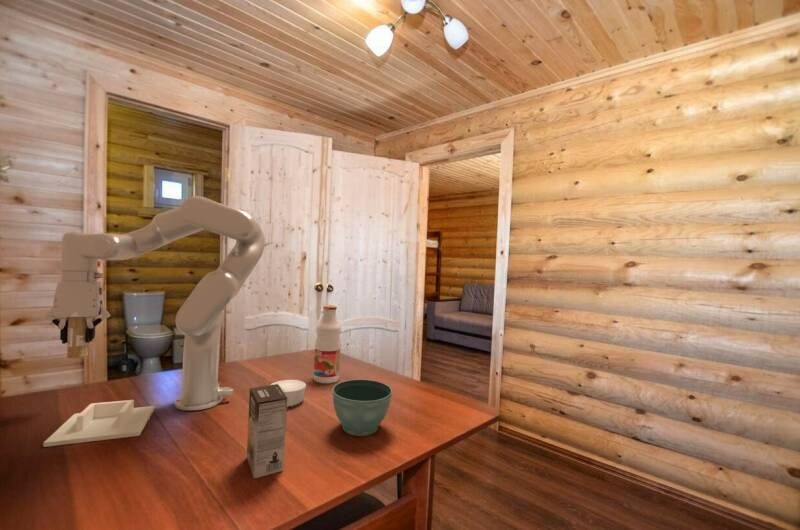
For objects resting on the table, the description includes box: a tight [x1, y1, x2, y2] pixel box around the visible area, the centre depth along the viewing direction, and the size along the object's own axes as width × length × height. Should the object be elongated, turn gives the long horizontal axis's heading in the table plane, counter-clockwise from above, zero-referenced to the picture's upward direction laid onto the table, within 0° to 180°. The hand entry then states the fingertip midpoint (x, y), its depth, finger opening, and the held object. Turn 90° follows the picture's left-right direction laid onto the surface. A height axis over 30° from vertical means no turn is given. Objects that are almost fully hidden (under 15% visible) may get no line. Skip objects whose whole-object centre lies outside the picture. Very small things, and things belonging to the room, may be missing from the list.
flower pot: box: [332, 379, 393, 437], centre depth 98 cm, size 16×16×11 cm
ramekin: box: [270, 379, 307, 408], centre depth 113 cm, size 11×11×5 cm
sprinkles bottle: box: [66, 312, 89, 360], centre depth 100 cm, size 5×5×14 cm
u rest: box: [42, 399, 156, 448], centre depth 92 cm, size 18×16×4 cm
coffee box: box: [246, 384, 288, 479], centre depth 79 cm, size 9×6×16 cm
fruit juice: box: [313, 304, 342, 384], centre depth 135 cm, size 9×9×28 cm
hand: (77, 341), depth 100 cm, fingers closed on sprinkles bottle, 4 cm apart
